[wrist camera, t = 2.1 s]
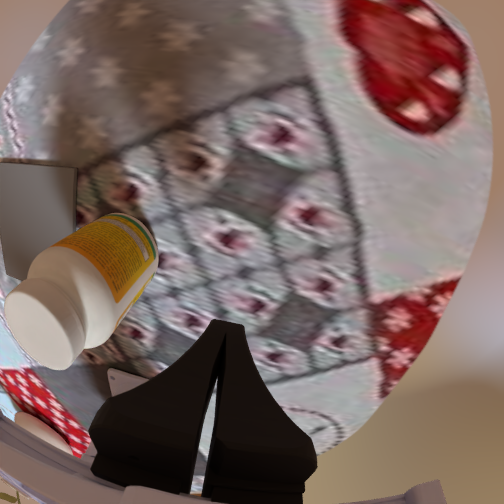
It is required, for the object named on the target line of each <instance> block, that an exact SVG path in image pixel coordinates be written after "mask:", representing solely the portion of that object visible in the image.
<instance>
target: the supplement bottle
mask: <svg viewBox="0 0 504 504" xmlns="http://www.w3.org/2000/svg"><path fill="white" fill-rule="evenodd" d="M157 267H158V249H157V246H156V243H155V241H154V239H153V237H152V235H151V233H150V232H149V230H148V229H147V228H146V227H145V225H144V224H143V223H141V222H140V221H139V220H137V219H136V218H134V217H132V216H130V215H127V214H123V213H111V214H108V215H105V216H103V217H101V218H99V219H97V220H95V221H93V222H92V223H90V224H88V225H86V226H84V227H82V228H81V229H79V230H77V231H76V232H74V233H72V234H70V235H68V236H67V237H65V238H63V239H62V240H60V241H58V242H57V243H55V244H53V245H52V246H50V247H49V248H47V249H45V250H44V251H42V252H41V253H40V254H39V255H37V256H36V258H35V259H34V260H33V262H32V264H31V266H30V268H29V271H28V276H27V279H26V280H24V281H22V282H21V283H20V284H19V285H18V286H17V287H16V288H14V289H13V290H12V291H11V292H10V293H9V294H8V295H7V297H6V300H5V304H4V311H5V316H6V320H7V323H8V326H9V328H10V330H11V332H12V334H13V336H14V337H15V339H16V340H17V342H18V343H19V344H20V346H21V347H22V348H23V349H24V350H25V352H27V353H28V354H29V355H30V356H31V357H32V358H33V359H35V360H36V361H37V362H39V363H40V364H42V365H43V366H45V367H48V368H50V369H54V370H64V369H67V368H68V367H69V366H70V365H71V364H72V363H73V362H74V360H75V359H76V358H77V356H78V355H79V354H80V353H81V352H82V351H83V349H89V348H94V347H97V346H99V345H101V344H103V343H104V342H105V341H106V340H108V338H109V337H110V336H111V335H112V333H113V332H114V331H115V329H116V328H117V326H118V325H119V324H120V322H121V321H122V320H123V318H124V317H125V315H126V314H127V313H128V311H129V310H130V308H131V307H132V306H133V304H134V303H135V302H136V300H137V299H138V298H139V296H140V295H141V294H142V292H143V291H144V290H145V288H146V287H147V286H148V284H149V283H150V281H151V280H152V279H153V277H154V275H155V273H156V270H157Z"/></svg>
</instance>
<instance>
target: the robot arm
mask: <svg viewBox="0 0 504 504" xmlns="http://www.w3.org/2000/svg"><path fill="white" fill-rule="evenodd" d="M107 374H108V379H109V384H110V389H111V394H112V397H110V398H108V399H107V400H106V401H105V402H104V404H103V405H102V406H101V408H100V409H99V410H98V412H97V413H96V415H95V417H94V419H93V421H92V423H91V426H90V428H89V430H88V431H89V435H90V438H91V442H90V444H89V447H88V449H87V451H86V453H83V455H82V457H81V459H80V458H78V457H75V456H73V455H71V454H69V453H67V452H65V451H63V450H61V449H59V448H57V447H55V446H53V445H52V444H50V443H48V442H46V441H44V440H42V439H41V438H39V437H37V436H36V435H34V434H32V433H31V432H29V431H27V430H26V429H24V428H22V427H21V426H19V425H18V424H16V423H15V422H13V421H12V420H10V419H9V418H7V417H6V416H4V415H3V413H2V411H1V409H0V476H1V477H3V478H4V479H5V480H7V481H8V482H9V483H11V484H12V485H13V486H15V487H16V488H18V489H19V490H21V491H22V492H23V493H25V494H26V495H28V496H29V497H31V498H33V499H34V500H36V501H37V502H39V503H40V504H303V497H302V493H304V492H305V481H306V480H307V479H308V478H309V477H310V476H311V475H312V474H313V473H314V472H315V470H316V469H317V456H316V452H315V449H314V445H313V442H312V439H311V438H310V437H309V436H308V435H307V434H306V433H305V432H303V431H302V430H301V429H300V428H299V427H298V426H297V425H296V424H295V423H294V422H293V421H292V420H291V419H290V418H289V417H288V416H287V415H286V413H285V412H284V411H283V410H282V408H281V407H280V406H279V405H278V403H277V402H276V401H275V399H274V398H273V396H272V395H271V393H270V392H269V390H268V389H267V387H266V385H265V384H264V382H263V380H262V378H261V376H260V374H259V372H258V370H257V368H256V365H255V363H254V361H253V358H252V355H251V353H250V350H249V347H248V343H247V340H246V335H245V328H244V326H243V325H242V324H237V323H232V322H227V321H222V320H217V319H213V320H211V322H210V324H209V325H208V327H207V328H206V330H205V331H204V333H203V334H202V335H201V336H200V338H199V339H198V340H197V341H196V342H195V343H194V344H193V346H192V347H191V348H190V349H189V350H188V351H186V352H185V353H184V354H183V355H182V356H181V357H180V358H179V359H178V360H177V361H176V362H174V363H173V364H172V365H171V366H169V367H168V368H167V369H165V370H164V371H162V372H161V373H159V374H158V375H157V376H155V377H153V378H152V379H150V380H149V379H145V378H142V377H139V376H135V375H132V374H129V373H126V372H123V371H120V370H117V369H114V368H109V369H108V371H107ZM217 377H218V379H217ZM216 380H217V392H216V406H215V419H214V427H213V432H212V438H211V444H210V449H209V455H208V461H207V466H206V472H205V478H204V483H203V489H202V495H201V497H200V496H194V495H190V491H191V485H192V480H193V474H194V469H195V464H196V459H197V453H198V448H199V443H200V438H201V433H202V428H203V423H204V419H205V415H206V412H207V409H208V405H209V402H210V399H211V396H212V393H213V390H214V386H215V383H216ZM342 504H447V503H446V500H445V497H444V493H443V490H442V487H441V484H440V481H439V480H434V481H430V482H426V483H422V484H419V485H416V486H414V487H412V488H411V489H409V490H408V491H407V492H406V493H405V494H401V495H396V496H392V497H386V498H381V499H374V500H368V501H360V502H352V503H342Z"/></svg>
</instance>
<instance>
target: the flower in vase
mask: <svg viewBox="0 0 504 504" xmlns="http://www.w3.org/2000/svg"><path fill="white" fill-rule="evenodd" d="M14 420H15V423H16V424H18V425H19V426H21V427H22V428H24V429H26V430H27V431H29V432H31V433H32V434H34V435H36V436H37V437H39V438H41V439H42V440H44V441H46V442H48V443H50V444H52V445H53V446H55V447H57V448H59V449H61V450H63V451H65V452H67V453H69V454H71V455H73V453H72V449H71V448H70V446H69V445H68V444H67V443H66V441H65V440H64V439H63V438H62V437H61V436H60V435H59V434H58V433H57V432H55V431H54V430H53V429H52V428H50V427H49V426H48V425H47V424H45V423H44V422H42V421H41V420H39V419H37V418H36V417H34V416H32V415H30V414H27V413H25V412H18V413H16V414H15V418H14ZM1 480H2V481H3V482H4V483H6V484H7V485H8V486H9V487H11V488H12V489H13V490H15V491H16V492H17V499H18V504H20V499H19V494H21V495H22V496H24V497H25V498H27V499H29V496H28V495H26V494H25V493H23V492H22V491H21V490H19V489H18V488H16V487H15V486H13V485H12V484H11V483H9V482H8V481H7V480H5V479H4V478H3V479H1ZM0 498H1V499H4V500H7V501H9V502H11V503H15V502H16V501H17V499H16V498H15V497H13V496H10V495H8V494H6V493H0Z"/></svg>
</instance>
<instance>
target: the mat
mask: <svg viewBox="0 0 504 504" xmlns="http://www.w3.org/2000/svg"><path fill="white" fill-rule="evenodd" d="M77 170H78V168H70V167H60V166H49V165H37V164H24V163H9V162H0V235H1V243H2V251H3V257H4V264H5V270H6V274H7V275H9V276H12V277H14V278H16V279H19V280H21V281H24V280H26V279H27V276H28V271H29V268H30V266H31V264H32V262H33V260H34V259H35V258H36V256H37V255H39V254H40V253H41V252H42V251H44V250H45V249H47V248H49V247H50V246H52V245H53V244H55V243H57V242H58V241H60V240H62V239H63V238H65V237H67V236H68V235H70V234H72V233H74V232H76V188H77Z"/></svg>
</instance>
